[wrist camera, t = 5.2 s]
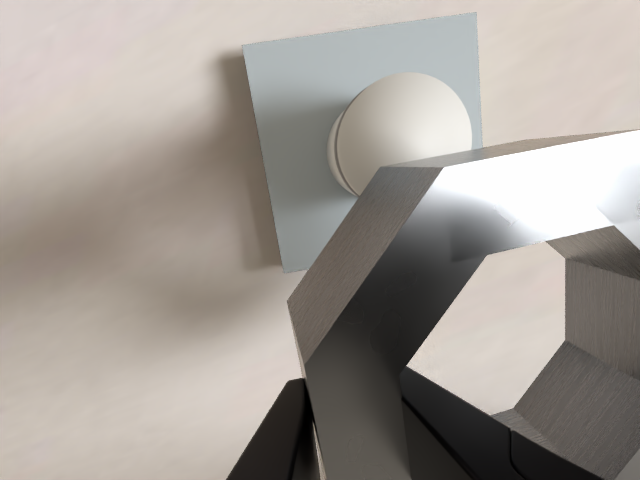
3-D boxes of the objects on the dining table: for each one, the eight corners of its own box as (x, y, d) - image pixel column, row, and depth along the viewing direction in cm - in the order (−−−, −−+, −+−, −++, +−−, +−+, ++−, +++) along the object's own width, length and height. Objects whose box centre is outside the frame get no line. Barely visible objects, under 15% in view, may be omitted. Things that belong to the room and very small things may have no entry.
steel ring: (607, 420, 12) (718, 500, 9) (330, 512, 11) (359, 641, 8) (618, 122, 10) (772, 104, 7) (263, 188, 8) (270, 200, 5)
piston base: (472, 233, 20) (554, 265, 14) (284, 265, 20) (280, 313, 13) (461, 24, 18) (554, -53, 11) (246, 55, 17) (219, -8, 11)
